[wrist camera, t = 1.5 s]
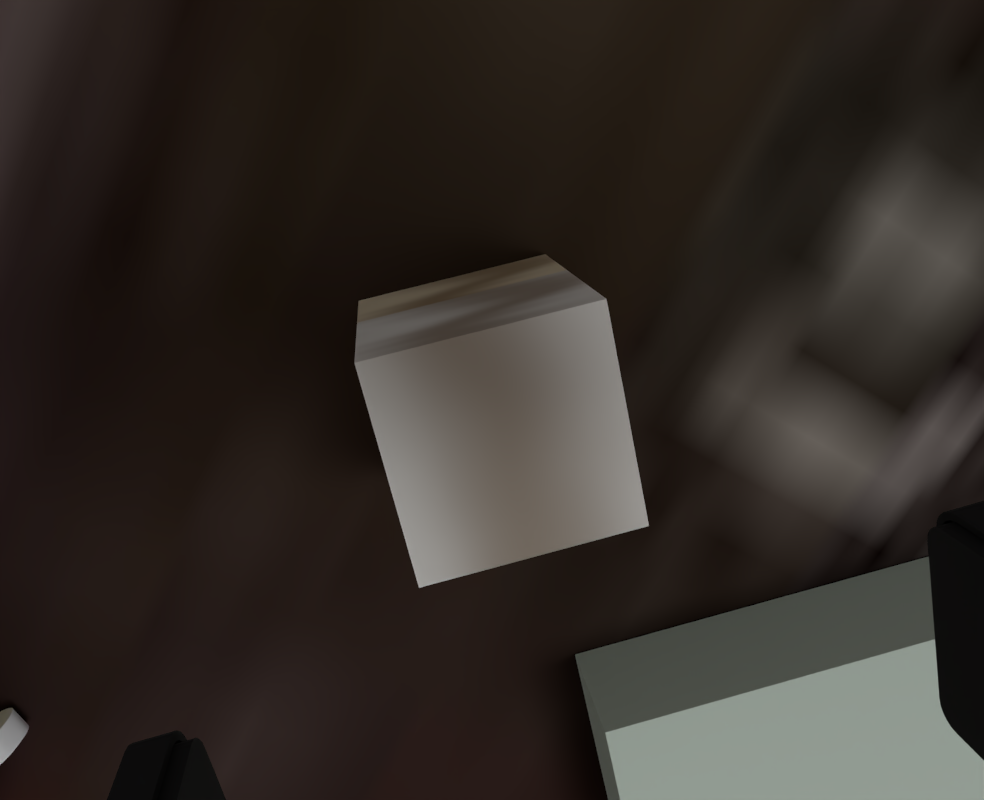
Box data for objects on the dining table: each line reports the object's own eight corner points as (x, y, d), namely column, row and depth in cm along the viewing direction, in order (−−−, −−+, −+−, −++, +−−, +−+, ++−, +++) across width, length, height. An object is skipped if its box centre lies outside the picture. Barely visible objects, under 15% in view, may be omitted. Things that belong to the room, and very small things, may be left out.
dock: (1076, 515, 30) (1177, 570, 27) (1080, 846, 35) (1166, 933, 31) (574, 654, 29) (605, 732, 26) (648, 976, 34) (683, 1082, 30)
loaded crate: (545, 254, 25) (606, 298, 19) (580, 428, 27) (649, 526, 21) (358, 300, 25) (354, 362, 18) (407, 473, 27) (419, 587, 20)
